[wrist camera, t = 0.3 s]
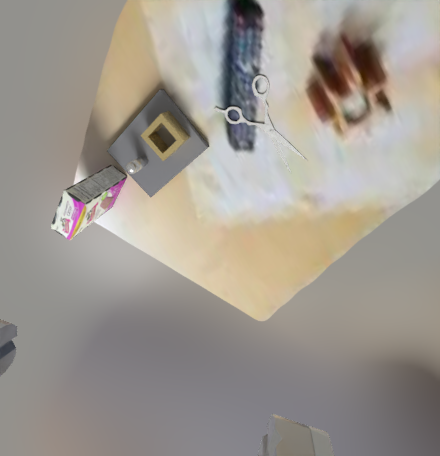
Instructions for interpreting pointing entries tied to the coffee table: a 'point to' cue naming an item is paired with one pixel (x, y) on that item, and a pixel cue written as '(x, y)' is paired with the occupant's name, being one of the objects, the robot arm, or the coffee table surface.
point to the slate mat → (136, 146)
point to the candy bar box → (87, 201)
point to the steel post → (137, 164)
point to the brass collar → (157, 142)
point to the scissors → (268, 125)
